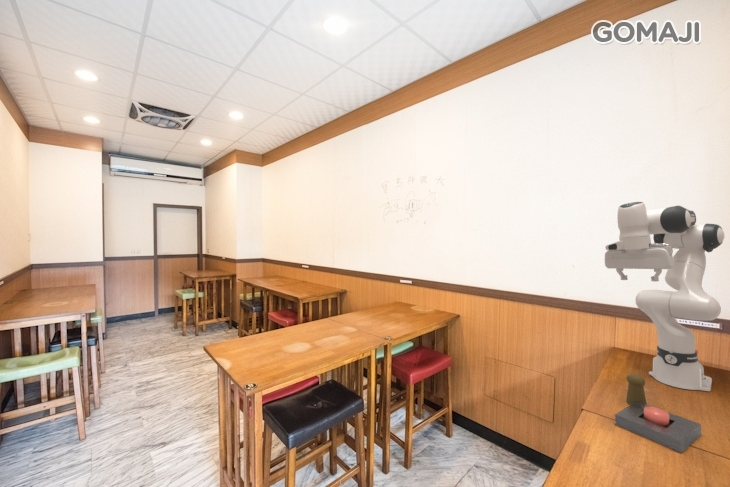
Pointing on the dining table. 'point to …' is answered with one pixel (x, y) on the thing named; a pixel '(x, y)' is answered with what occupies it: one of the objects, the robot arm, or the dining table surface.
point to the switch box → (659, 427)
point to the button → (656, 416)
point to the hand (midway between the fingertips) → (639, 280)
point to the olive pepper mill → (635, 389)
